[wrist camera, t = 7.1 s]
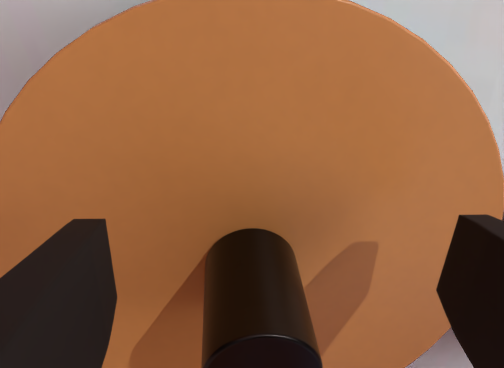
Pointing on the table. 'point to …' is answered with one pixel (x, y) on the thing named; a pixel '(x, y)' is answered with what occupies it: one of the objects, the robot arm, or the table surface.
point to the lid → (254, 180)
